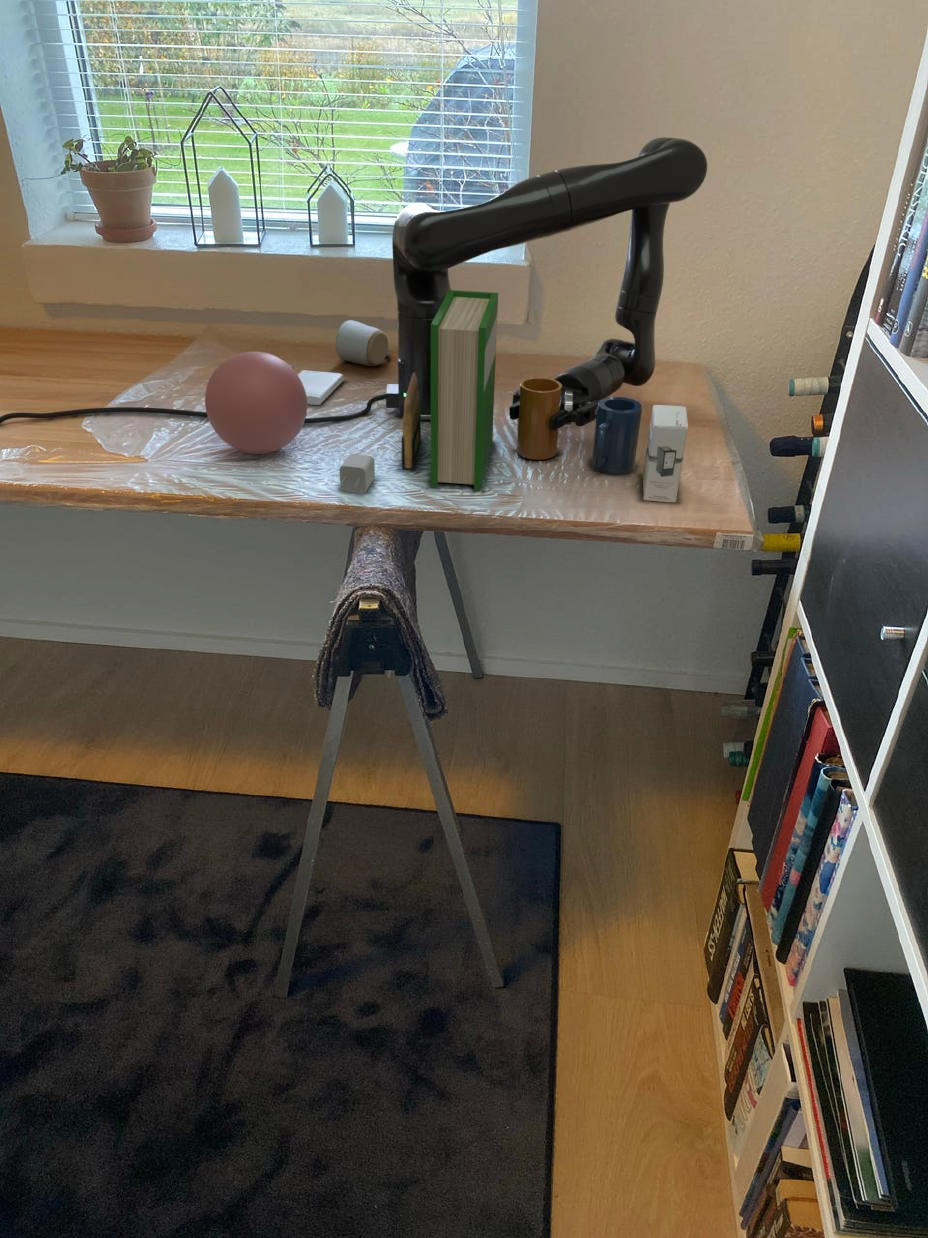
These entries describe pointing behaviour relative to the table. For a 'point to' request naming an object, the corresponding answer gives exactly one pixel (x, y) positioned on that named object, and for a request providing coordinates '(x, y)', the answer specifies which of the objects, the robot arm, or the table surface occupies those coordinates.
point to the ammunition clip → (411, 426)
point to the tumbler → (538, 417)
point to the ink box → (664, 453)
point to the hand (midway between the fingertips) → (531, 418)
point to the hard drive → (319, 385)
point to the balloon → (256, 402)
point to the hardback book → (462, 386)
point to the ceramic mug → (361, 343)
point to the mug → (616, 435)
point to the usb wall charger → (357, 473)
